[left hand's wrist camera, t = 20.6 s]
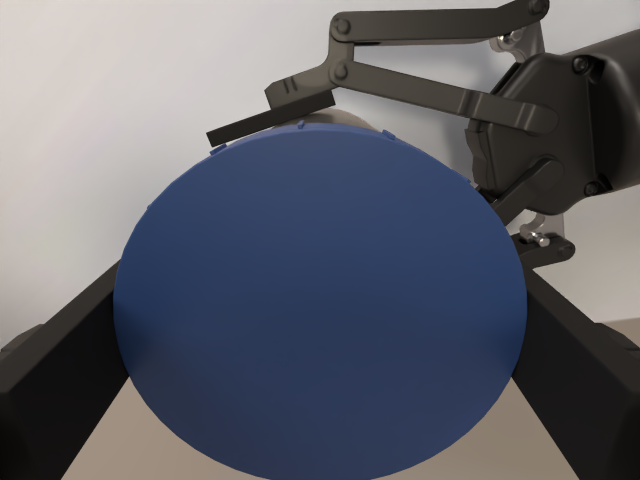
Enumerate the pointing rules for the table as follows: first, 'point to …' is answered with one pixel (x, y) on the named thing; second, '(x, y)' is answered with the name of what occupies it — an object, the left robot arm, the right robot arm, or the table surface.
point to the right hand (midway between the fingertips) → (253, 229)
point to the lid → (320, 304)
